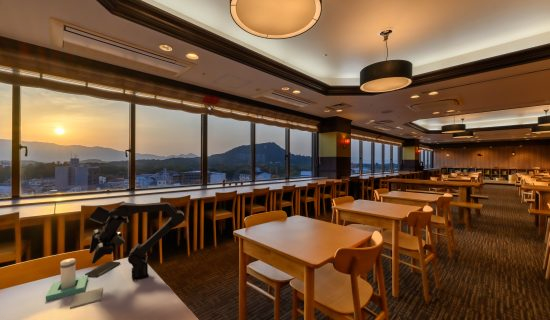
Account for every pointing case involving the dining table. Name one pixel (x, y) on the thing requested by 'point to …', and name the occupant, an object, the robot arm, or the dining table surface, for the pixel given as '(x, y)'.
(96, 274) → the phone
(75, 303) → the beige square plate
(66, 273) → the white capped cylinder
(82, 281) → the green square frame
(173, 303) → the dining table surface
